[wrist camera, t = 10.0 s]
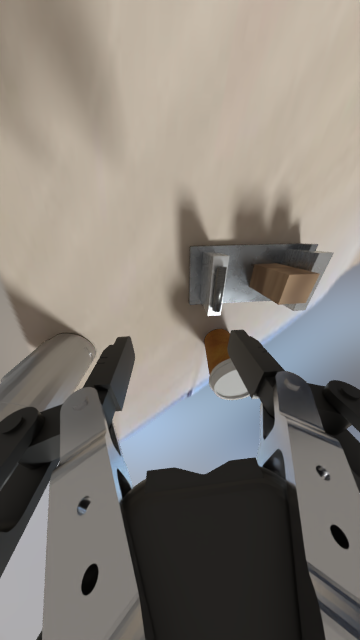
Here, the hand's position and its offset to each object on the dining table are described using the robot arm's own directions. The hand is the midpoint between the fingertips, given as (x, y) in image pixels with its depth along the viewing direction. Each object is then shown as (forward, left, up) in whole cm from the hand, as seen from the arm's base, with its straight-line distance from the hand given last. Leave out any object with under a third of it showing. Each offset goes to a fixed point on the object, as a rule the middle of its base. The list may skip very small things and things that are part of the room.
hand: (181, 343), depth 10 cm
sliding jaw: (+6, 0, -18) cm, 19 cm away
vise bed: (+13, 0, -18) cm, 22 cm away
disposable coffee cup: (+10, -15, -18) cm, 25 cm away
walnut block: (+16, 0, -17) cm, 23 cm away
